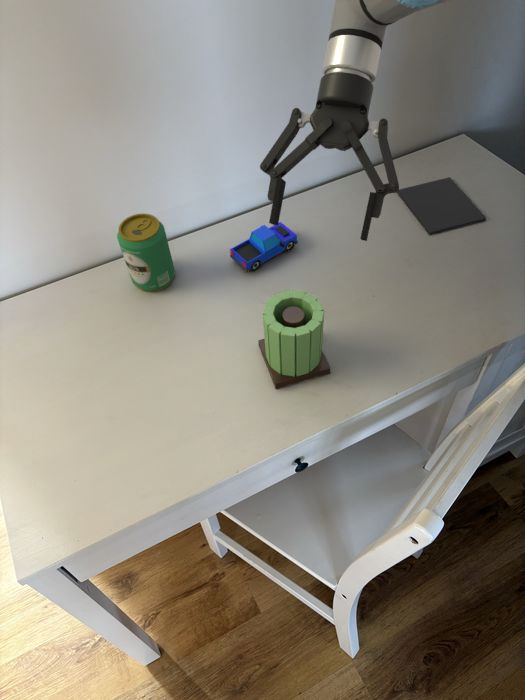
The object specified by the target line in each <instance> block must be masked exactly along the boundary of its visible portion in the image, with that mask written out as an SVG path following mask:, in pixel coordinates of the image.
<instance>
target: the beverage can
mask: <svg viewBox="0 0 525 700" xmlns="http://www.w3.org/2000/svg"><path fill="white" fill-rule="evenodd" d="M166 233H167V232H166V230H165V225H164V224H163V223H162V222H161V221H160V220H159V219H158V217H156V216H155V215H153V214H149V213H135V214H132V215H130V216H128V217H126V218H124V219H123V220H122V221H121V222H120V224H119V225H118V231H117V234H116V240H117V242H118V245H119V248H120V251H121V253H122V257H123V259H124V262H125V265H126V268H127V271H128V273H129V276H130V280H131V281H132V283H133V285H134V286H135V287H137V288H138V289H139V290H140V291H144V292H147V293H156V292H160V291H163V290H164V289H166V288H168V287H169V286H170V285H171V283H172V282H173V281H174V277H175V274H176V269H175V265H174V261H173V257H172V253H171V249H170V246H169V245H170V244H169V241H168V237H167V234H166Z"/></svg>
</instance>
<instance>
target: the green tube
mask: <svg viewBox="0 0 525 700" xmlns="http://www.w3.org/2000/svg"><path fill="white" fill-rule="evenodd" d="M292 306H295V307H299V308H301V309H302V310H303V311H304V315H305V316H304V326H301V327H297V328H291V327H284V326H283V322H282V313H283V311H284V310H285V309H286V308H288V307H292ZM324 321H325V309H324V307H323V305H322V303H321V301H320V300H319V299H318V297H316V296H314V295H312V294H311V293H309V292H308V291H307V292H306V291H304V290H297V289H296V290H295V289H291V290H289V289H288V290H285V291H282V292H278V293H277V294H276V293H275V294H274V295H272V297H270V298H269V299H268V300H267V301H266V303H264V308H263V311H262V323H263V324H262V325H263V334H264V335H263V337H264V339H265V351H266V358H267V360H268V363H269V365H270V366H271V368H273V369H274V370H275V371H277V372H278V373H280V374H281V373H282V375H287V376H294V377H295V374H296V376H300V375H304V374H307V373H309V371H310V372H311V371H312V370H313V369H314V368H315V367H316V366H317V365H318V364H319V362H320V358H321V353H322V351H323V339H324V338H323V336H324Z"/></svg>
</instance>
